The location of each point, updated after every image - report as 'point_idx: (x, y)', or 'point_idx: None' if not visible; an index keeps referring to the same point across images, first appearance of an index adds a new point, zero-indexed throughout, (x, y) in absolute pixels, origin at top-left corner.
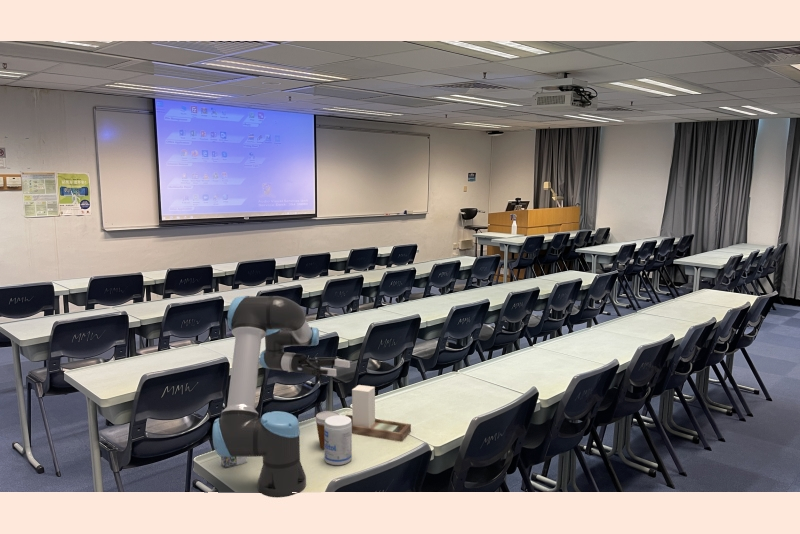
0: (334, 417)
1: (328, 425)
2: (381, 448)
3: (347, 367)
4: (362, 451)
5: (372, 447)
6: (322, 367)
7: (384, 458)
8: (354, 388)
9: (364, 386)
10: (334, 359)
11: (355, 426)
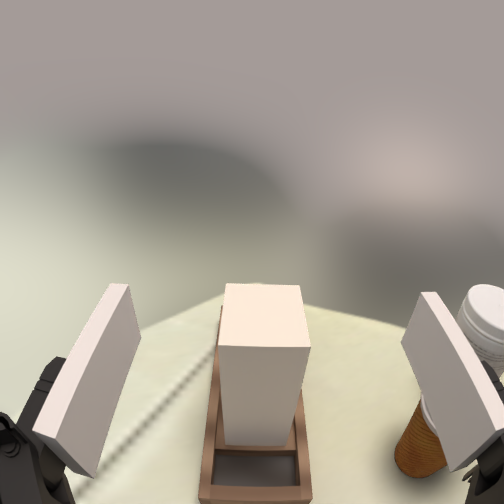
0: (502, 319)
1: None
2: (346, 345)
3: (136, 348)
4: (386, 371)
5: (354, 362)
6: (491, 418)
7: (381, 324)
8: (286, 344)
9: (233, 316)
10: (30, 448)
11: (303, 423)
